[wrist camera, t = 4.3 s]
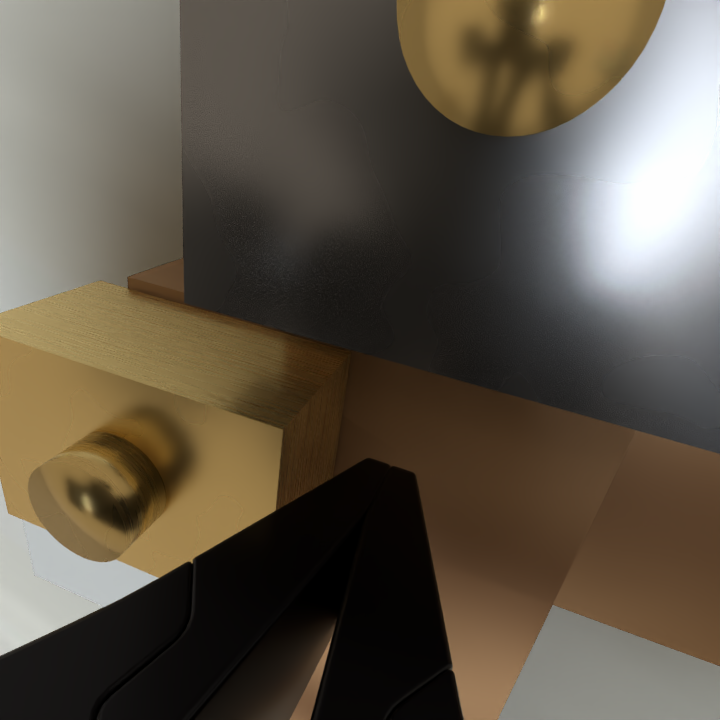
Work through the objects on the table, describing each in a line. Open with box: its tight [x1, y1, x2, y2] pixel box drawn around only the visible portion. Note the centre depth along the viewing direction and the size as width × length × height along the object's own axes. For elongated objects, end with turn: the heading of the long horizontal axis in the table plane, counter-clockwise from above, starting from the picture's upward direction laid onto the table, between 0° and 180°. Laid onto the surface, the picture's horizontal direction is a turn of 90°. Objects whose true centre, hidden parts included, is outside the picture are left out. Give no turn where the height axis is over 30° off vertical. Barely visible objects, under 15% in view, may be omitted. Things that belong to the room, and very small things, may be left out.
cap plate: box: [180, 0, 720, 454], centre depth 5 cm, size 7×6×3 cm
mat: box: [22, 519, 158, 607], centre depth 16 cm, size 10×8×1 cm
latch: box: [0, 281, 352, 578], centre depth 8 cm, size 4×5×3 cm
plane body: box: [128, 258, 720, 720], centre depth 10 cm, size 23×12×5 cm, turn 171°
